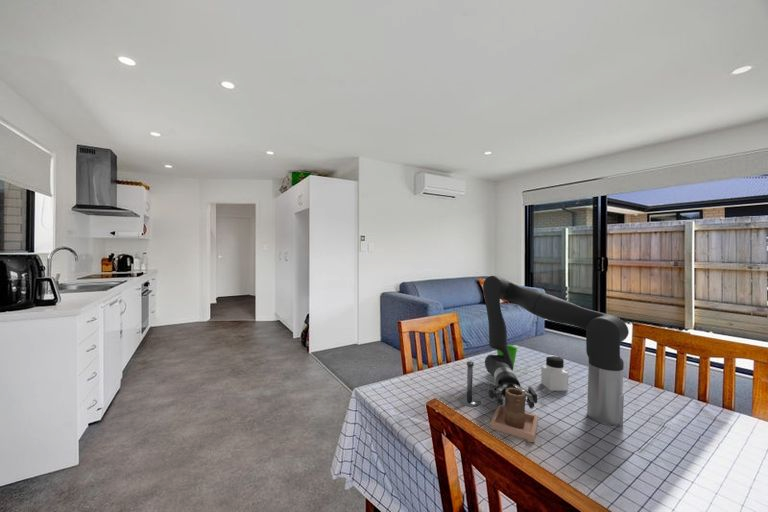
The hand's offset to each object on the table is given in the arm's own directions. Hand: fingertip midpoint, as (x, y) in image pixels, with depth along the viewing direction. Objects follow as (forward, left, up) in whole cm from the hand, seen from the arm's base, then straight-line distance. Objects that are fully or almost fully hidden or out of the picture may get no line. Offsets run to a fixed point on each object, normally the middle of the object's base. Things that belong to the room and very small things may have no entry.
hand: (516, 403), depth 93 cm
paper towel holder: (+17, -9, -8) cm, 20 cm away
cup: (+11, -45, -8) cm, 47 cm away
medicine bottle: (-8, -40, -8) cm, 41 cm away
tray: (+1, -2, -8) cm, 8 cm away
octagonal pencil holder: (+1, -2, -7) cm, 7 cm away
